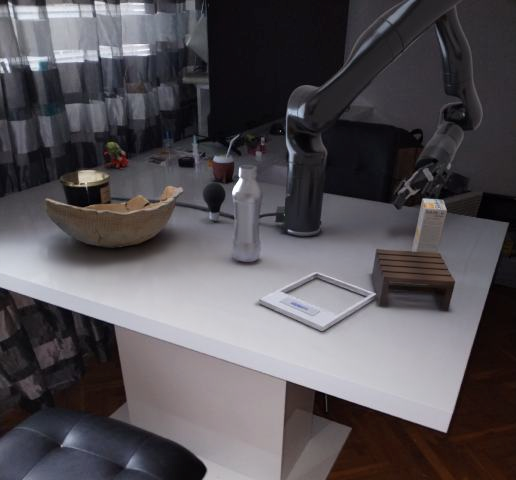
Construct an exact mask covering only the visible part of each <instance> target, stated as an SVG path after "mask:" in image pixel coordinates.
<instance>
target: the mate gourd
mask: <svg viewBox="0 0 516 480" xmlns="http://www.w3.org/2000/svg"><path fill="white" fill-rule="evenodd" d="M239 137H240V134H238V135H236V136H235V137H233V138H232V139H231V140H230V142H229V147H228V149H227V153H220V154H216V155H214V157H213V159H212V174H213V178H214V179H213V183H218V182H222V183H223V184H224V185H225V184H227V182H234V179H233V177H234V173H235V160H234V158H233V156H232V155H231V154H230V151H231V148H232V145H233V144H234V141H235V140H236V139H237V138H239Z"/></svg>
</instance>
